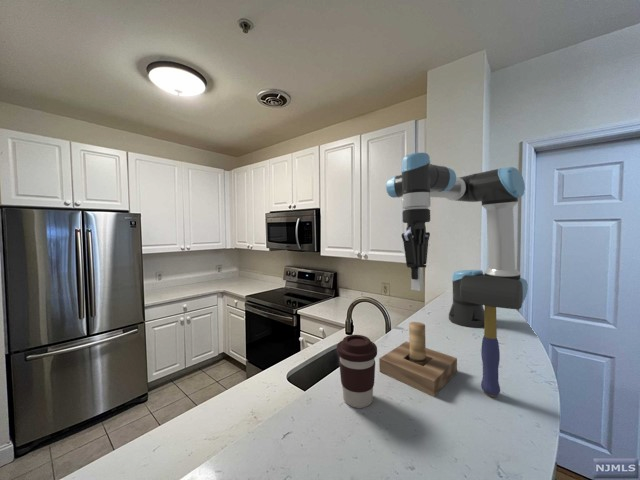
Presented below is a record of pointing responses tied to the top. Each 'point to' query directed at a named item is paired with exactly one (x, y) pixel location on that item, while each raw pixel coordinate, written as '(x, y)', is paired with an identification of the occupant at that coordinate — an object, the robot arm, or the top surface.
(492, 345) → the rubber mallet
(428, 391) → the walnut socket block
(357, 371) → the coffee cup
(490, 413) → the top surface
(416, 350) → the oak peg
